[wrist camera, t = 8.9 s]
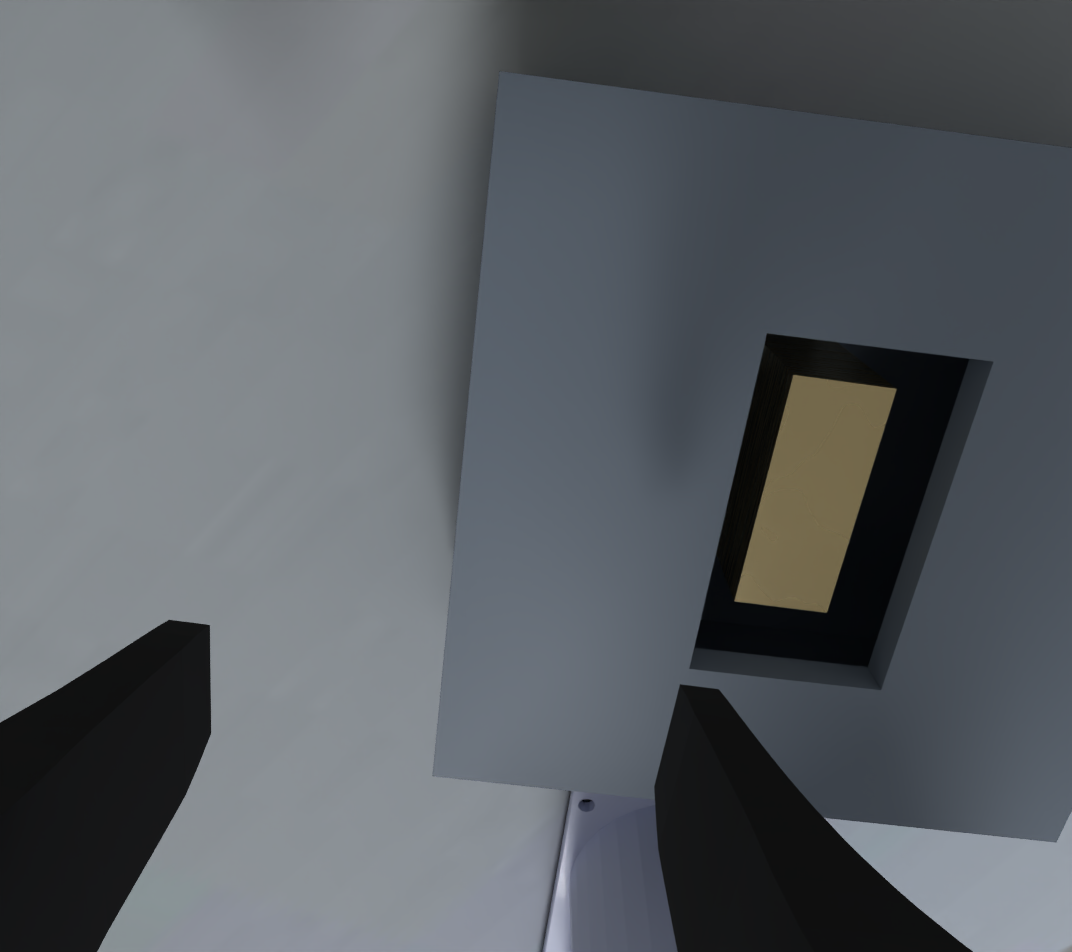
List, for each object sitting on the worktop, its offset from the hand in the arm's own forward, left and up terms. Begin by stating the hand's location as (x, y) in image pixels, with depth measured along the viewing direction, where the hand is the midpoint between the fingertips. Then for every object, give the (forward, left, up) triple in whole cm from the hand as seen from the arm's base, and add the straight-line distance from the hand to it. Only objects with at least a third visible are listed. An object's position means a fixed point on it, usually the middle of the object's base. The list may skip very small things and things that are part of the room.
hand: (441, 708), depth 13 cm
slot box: (+2, -7, -10) cm, 13 cm away
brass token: (+2, -7, -10) cm, 12 cm away
